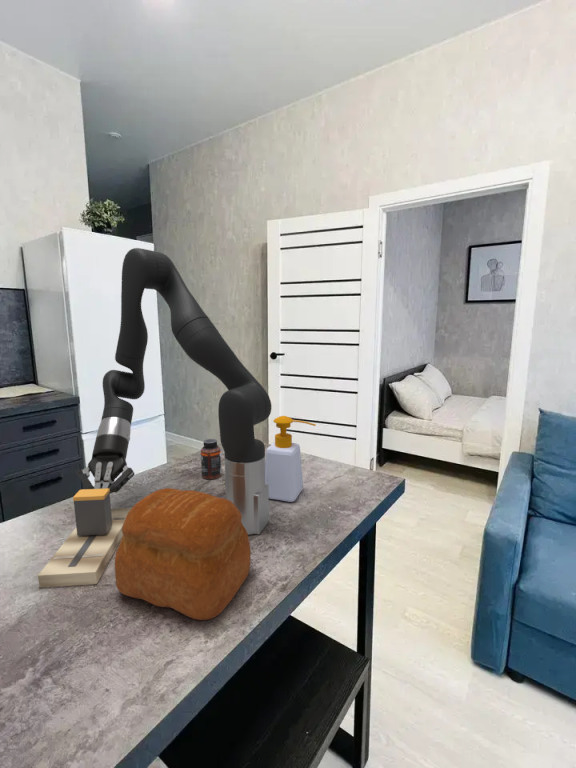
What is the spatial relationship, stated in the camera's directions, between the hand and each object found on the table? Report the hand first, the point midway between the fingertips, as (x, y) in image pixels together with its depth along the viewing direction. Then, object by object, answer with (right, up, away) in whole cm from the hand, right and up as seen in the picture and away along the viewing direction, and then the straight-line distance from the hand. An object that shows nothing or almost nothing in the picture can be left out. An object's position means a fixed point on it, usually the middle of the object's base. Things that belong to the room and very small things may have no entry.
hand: (98, 510), depth 86 cm
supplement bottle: (+18, -1, +34) cm, 38 cm away
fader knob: (0, -4, -2) cm, 4 cm away
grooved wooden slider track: (0, -7, -3) cm, 7 cm away
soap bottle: (+43, -3, +21) cm, 48 cm away
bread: (+23, -9, -14) cm, 28 cm away
